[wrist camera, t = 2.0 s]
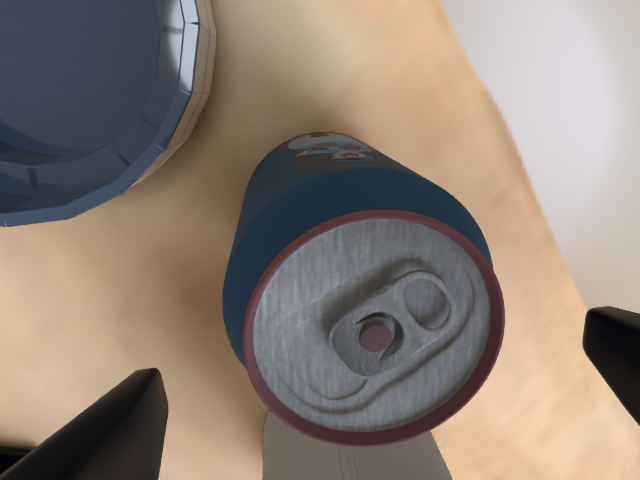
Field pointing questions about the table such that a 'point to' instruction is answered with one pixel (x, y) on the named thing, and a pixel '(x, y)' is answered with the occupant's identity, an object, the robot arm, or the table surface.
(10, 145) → the bowl
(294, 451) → the cup
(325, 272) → the soda can
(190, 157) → the table surface
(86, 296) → the table surface
